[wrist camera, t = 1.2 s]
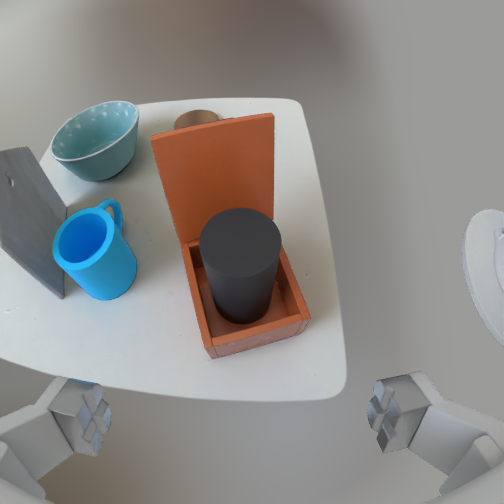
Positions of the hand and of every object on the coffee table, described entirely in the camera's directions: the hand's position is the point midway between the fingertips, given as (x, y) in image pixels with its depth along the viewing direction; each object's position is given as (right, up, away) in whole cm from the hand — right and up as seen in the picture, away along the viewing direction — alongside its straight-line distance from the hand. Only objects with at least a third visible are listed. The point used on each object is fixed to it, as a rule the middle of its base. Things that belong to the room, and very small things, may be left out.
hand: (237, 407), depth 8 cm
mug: (-18, +3, +29) cm, 35 cm away
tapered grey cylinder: (-1, +2, +21) cm, 21 cm away
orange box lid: (-2, +10, +19) cm, 22 cm away
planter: (-31, +4, +29) cm, 43 cm away
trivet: (-10, +27, +43) cm, 52 cm away
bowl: (-25, +20, +39) cm, 50 cm away
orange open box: (-1, -1, +27) cm, 27 cm away
